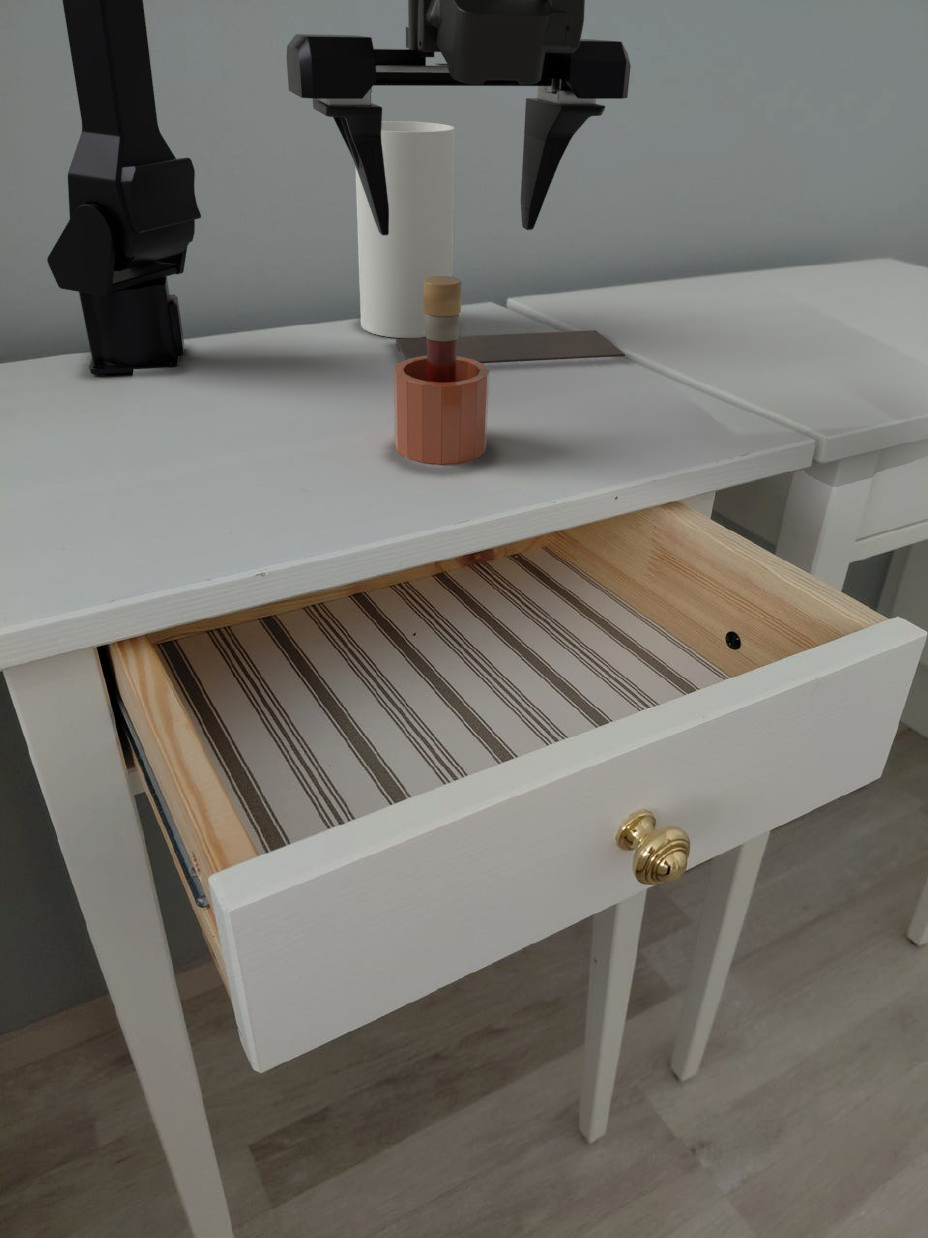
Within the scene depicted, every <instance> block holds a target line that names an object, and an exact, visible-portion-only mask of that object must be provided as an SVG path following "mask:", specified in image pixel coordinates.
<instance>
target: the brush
mask: <svg viewBox="0 0 928 1238" xmlns="http://www.w3.org/2000/svg"><path fill="white" fill-rule="evenodd" d="M424 312H425V313H426V324H425V336H426V337H425V338H427V382H439V383H447V382H456V360H457V339H458V337H459V336H460V334H459V333H460V313H461V312H462V280H461V279H460V278H458V277H454V276H453V277H450V276H433V277H428V278H426V279H424Z"/></svg>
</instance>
